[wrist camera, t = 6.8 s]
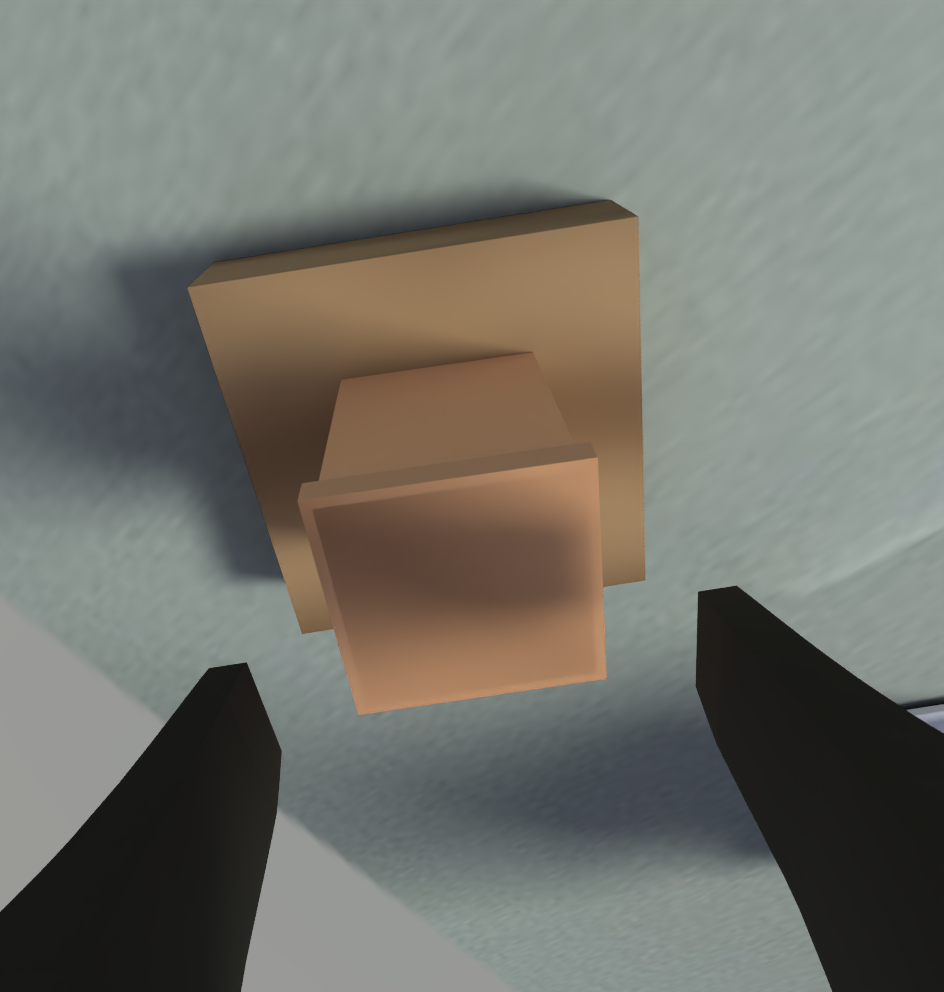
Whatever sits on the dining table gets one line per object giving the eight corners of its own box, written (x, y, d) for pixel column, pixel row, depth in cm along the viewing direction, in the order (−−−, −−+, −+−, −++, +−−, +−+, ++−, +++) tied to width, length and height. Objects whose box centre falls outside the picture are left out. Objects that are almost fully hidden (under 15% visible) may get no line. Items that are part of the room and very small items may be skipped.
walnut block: (623, 533, 23) (645, 580, 21) (312, 581, 23) (302, 633, 21) (610, 199, 18) (638, 216, 16) (213, 262, 18) (187, 287, 16)
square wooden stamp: (554, 520, 20) (606, 678, 15) (371, 547, 20) (358, 715, 14) (540, 342, 17) (598, 457, 12) (330, 373, 17) (297, 500, 12)
